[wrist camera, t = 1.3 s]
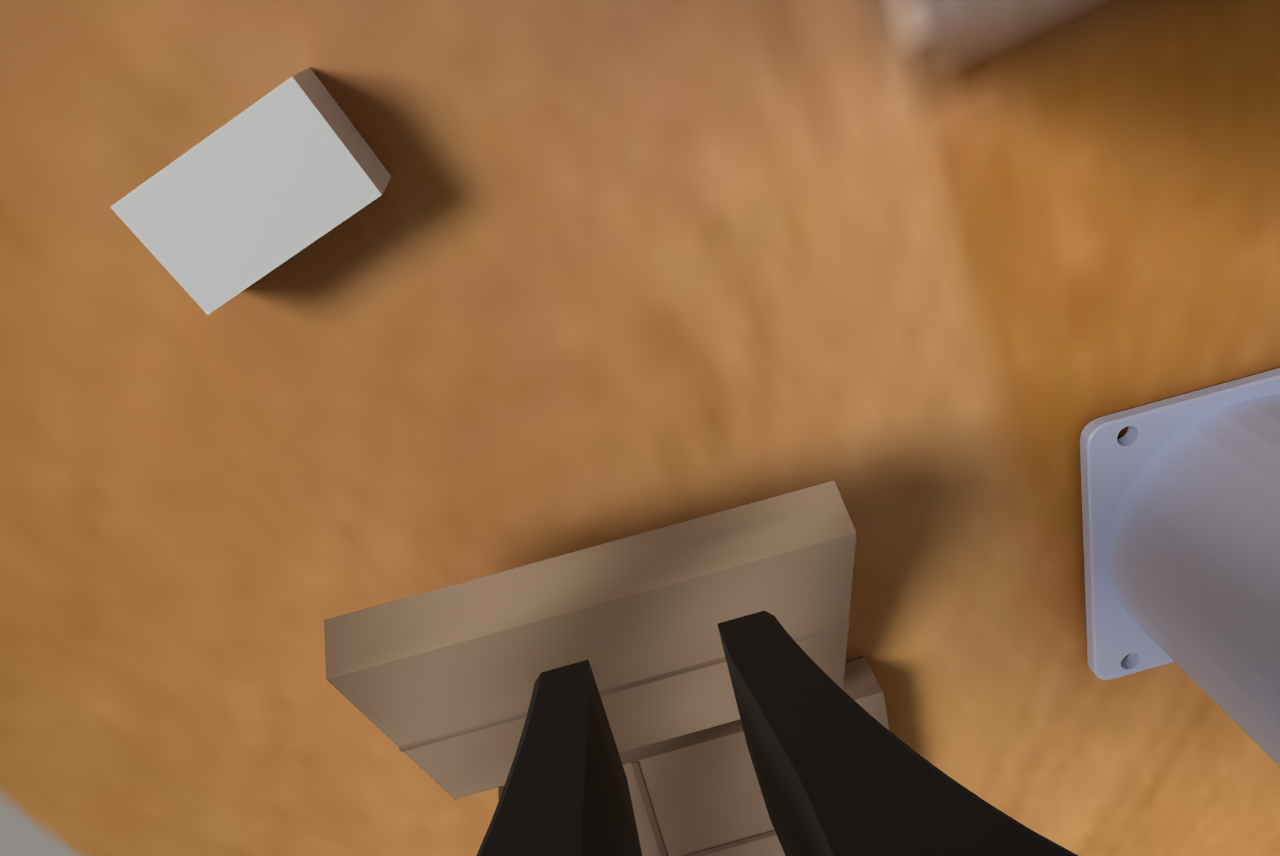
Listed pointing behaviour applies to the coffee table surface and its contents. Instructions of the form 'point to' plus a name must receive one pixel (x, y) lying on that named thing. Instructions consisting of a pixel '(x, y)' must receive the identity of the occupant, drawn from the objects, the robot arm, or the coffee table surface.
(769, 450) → the coffee table surface
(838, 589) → the board
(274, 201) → the light grey block
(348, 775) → the coffee table surface
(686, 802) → the laid board
